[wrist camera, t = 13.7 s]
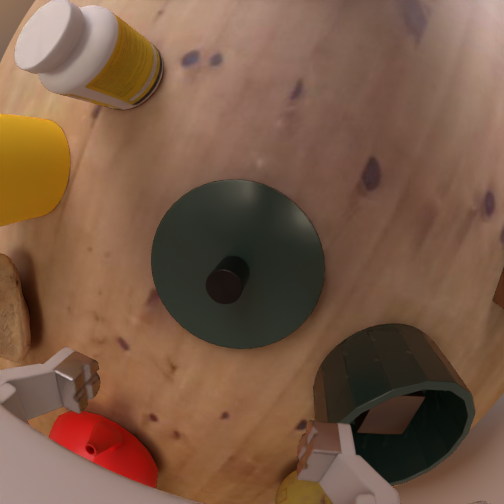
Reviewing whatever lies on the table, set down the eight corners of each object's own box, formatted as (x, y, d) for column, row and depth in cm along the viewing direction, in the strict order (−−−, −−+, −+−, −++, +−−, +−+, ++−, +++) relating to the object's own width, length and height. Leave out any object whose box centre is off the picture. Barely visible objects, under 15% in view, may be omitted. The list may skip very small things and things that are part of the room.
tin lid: (169, 165, 23) (142, 164, 18) (342, 201, 22) (355, 207, 17) (150, 319, 26) (127, 344, 22) (298, 356, 25) (298, 390, 21)
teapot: (145, 494, 35) (120, 547, 23) (64, 445, 35) (28, 491, 23) (196, 422, 29) (160, 511, 17) (75, 348, 29) (7, 409, 17)
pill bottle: (175, 44, 20) (102, -25, 9) (154, 114, 22) (59, 80, 11) (112, 45, 21) (28, -2, 9) (93, 110, 22) (-6, 88, 11)
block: (367, 361, 24) (378, 393, 20) (410, 367, 24) (425, 396, 19) (349, 399, 25) (356, 432, 21) (391, 403, 25) (402, 434, 20)
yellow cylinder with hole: (85, 142, 23) (7, 136, 14) (49, 234, 26) (-21, 258, 17) (30, 106, 23) (-37, 97, 14) (1, 188, 25) (-61, 199, 16)
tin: (339, 311, 24) (357, 373, 16) (457, 333, 23) (501, 384, 15) (297, 419, 27) (296, 485, 19) (404, 428, 26) (423, 486, 18)
